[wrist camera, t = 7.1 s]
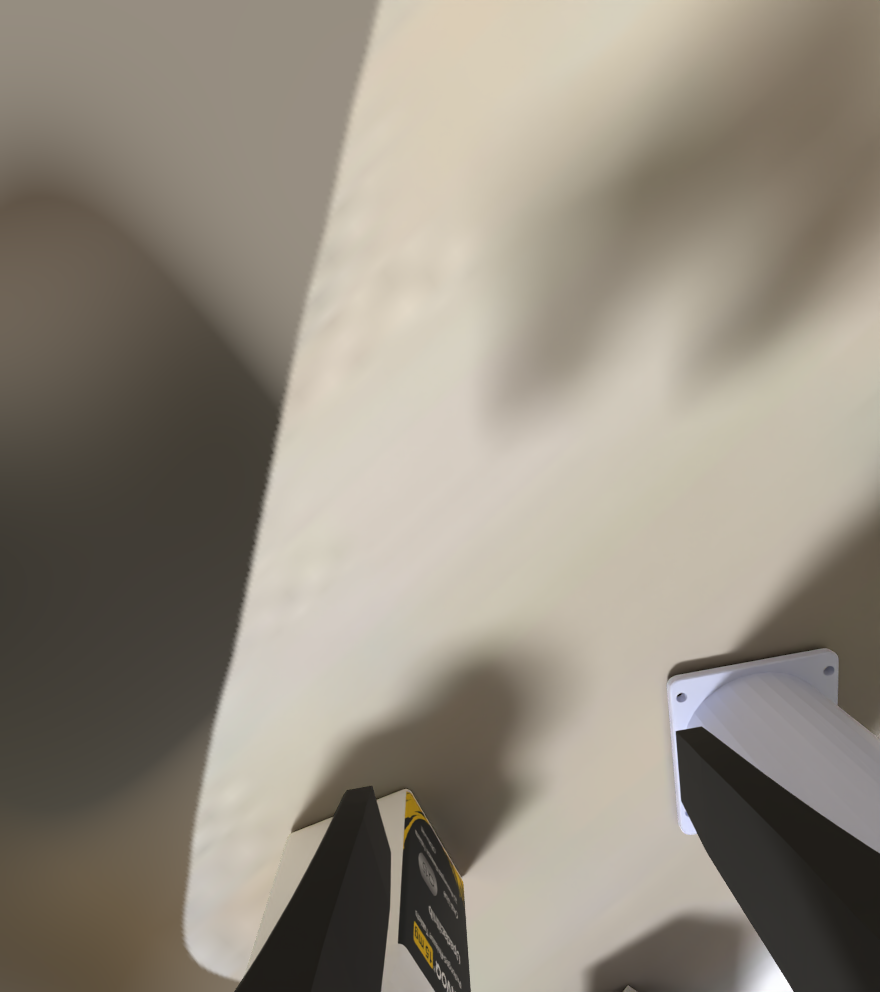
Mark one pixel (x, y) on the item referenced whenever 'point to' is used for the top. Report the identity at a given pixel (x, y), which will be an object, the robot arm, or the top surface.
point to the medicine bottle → (396, 900)
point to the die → (629, 989)
